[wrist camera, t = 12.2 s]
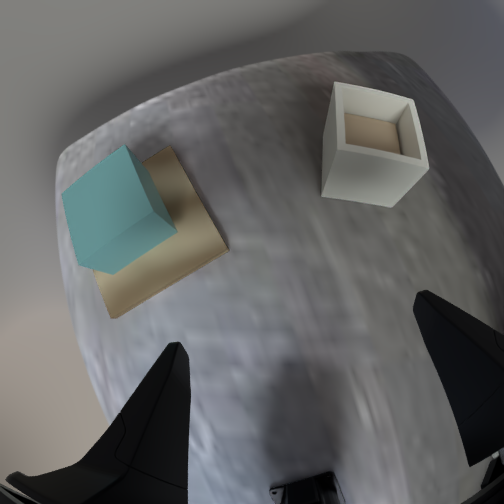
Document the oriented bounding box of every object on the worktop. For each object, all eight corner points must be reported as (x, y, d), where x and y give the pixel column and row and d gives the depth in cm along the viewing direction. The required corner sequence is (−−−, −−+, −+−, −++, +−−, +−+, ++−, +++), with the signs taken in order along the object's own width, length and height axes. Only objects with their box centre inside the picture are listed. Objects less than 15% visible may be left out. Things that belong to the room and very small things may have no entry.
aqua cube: (183, 236, 24) (153, 211, 17) (121, 277, 23) (78, 265, 17) (154, 178, 25) (124, 144, 19) (99, 217, 25) (61, 194, 19)
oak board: (229, 250, 24) (227, 248, 23) (116, 318, 24) (111, 318, 23) (173, 150, 27) (170, 145, 26) (81, 213, 27) (76, 211, 26)
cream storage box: (391, 207, 24) (429, 168, 16) (320, 196, 24) (337, 149, 17) (386, 147, 25) (413, 99, 17) (322, 135, 26) (334, 81, 18)
